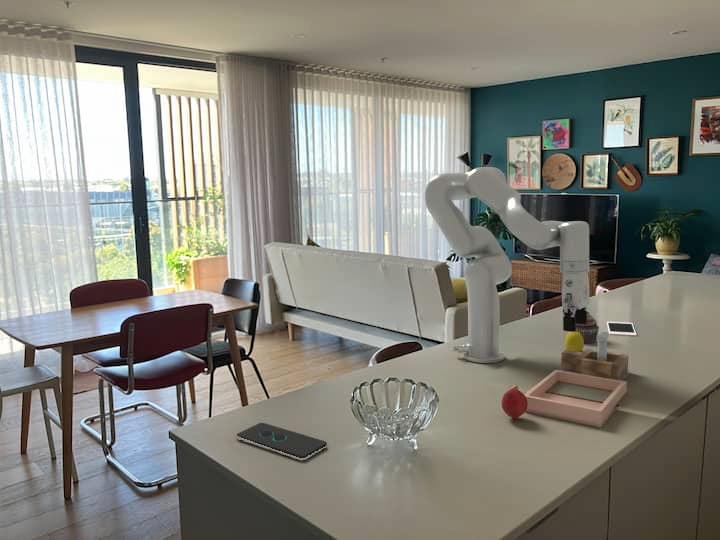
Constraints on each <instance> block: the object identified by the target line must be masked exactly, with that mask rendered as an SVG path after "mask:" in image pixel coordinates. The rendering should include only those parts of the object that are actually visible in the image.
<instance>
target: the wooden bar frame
mask: <svg viewBox="0 0 720 540" xmlns="http://www.w3.org/2000/svg"><path fill="white" fill-rule="evenodd" d="M560 361H561V363H560V365H561V366H560V367H561V368H560V369H561V370H567V371H573V372H575V373H578V374H584V375H590V376H596V377H602V378H608V379H614V380H621V379H622V378H623V377H624V376H625V375H626V374H627V373H628V371H629V354H628V353H627V354H626V353H625V354H624V353H620V352H613V351H611V352H610V351H607V362H606V361H599V360H597V349H592V348H591V349H590V348H587V349H585V350H584V351H581V352H576V351H569V350H567V349H565V350H563V351H562V352H561V359H560Z"/></svg>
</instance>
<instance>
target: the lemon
mask: <svg viewBox="0 0 720 540" xmlns="http://www.w3.org/2000/svg"><path fill="white" fill-rule="evenodd" d="M564 346H565V350H569V351H576V352H583V351H582V350H584V346H585V343H584V340H583V337H582V335H581V334H580V333H579V332H576V331H575V332H570V331H569V332H568V333H567V334H566V336H565V339H564Z"/></svg>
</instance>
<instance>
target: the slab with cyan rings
mask: <svg viewBox="0 0 720 540" xmlns="http://www.w3.org/2000/svg"><path fill="white" fill-rule="evenodd" d="M237 436H239V437H241V438H244V439H247V440H250V441H253V442H255V443H258V444H261V445H264V446H267V447H270V448H272V449H275V450H278V451H282V452H284V453H287V454H290V455H293V456H296V457H299V458H305V457H307V456H308V455H311V454H312V453H314V452H315V451H318V450H319V449H321V448H323V447H325V446H327V447H328V444H327V443H328V442H327V441H325V440H323V439H319V438H316V437H312V436H309V435H305V434H302V433H299V432H296V431H293V430H288V429H285V428H282V427H278V426H275V425H273V424H268V423H266V422H259V423H257V424H255V425H252V426H251V427H248V428H246V429H244V430H242V431H240V432H238V433H236V437H237Z"/></svg>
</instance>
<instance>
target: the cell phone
mask: <svg viewBox="0 0 720 540" xmlns="http://www.w3.org/2000/svg"><path fill="white" fill-rule="evenodd" d="M606 326H607V332H609V336H621V335H626V336H627V337H637V335H638V334H637V332H636V328H635V326H634V323H633V322H626V321H625V322H624V321H623V322H622V321H606Z"/></svg>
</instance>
